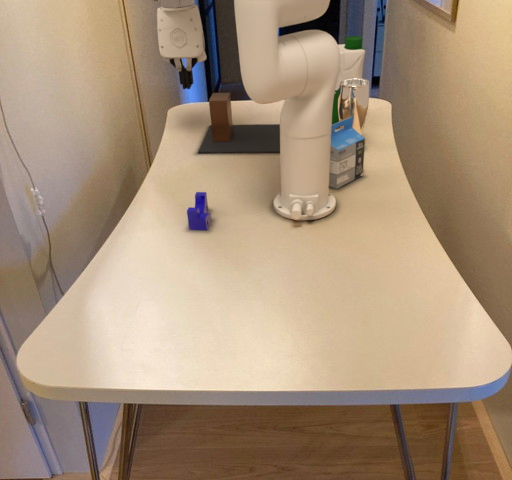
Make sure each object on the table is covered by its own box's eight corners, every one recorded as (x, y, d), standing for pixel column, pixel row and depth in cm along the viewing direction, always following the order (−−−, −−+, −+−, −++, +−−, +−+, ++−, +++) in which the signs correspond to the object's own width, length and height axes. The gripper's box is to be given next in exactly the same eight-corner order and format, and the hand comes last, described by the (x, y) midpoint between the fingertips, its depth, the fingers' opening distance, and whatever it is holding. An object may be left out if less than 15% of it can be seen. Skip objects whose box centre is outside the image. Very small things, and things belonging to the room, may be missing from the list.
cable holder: (207, 230, 106) (204, 211, 103) (189, 229, 107) (186, 211, 104) (215, 210, 112) (213, 192, 109) (198, 210, 112) (196, 191, 110)
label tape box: (336, 189, 116) (339, 131, 108) (322, 184, 119) (324, 127, 111) (363, 176, 121) (368, 119, 113) (349, 171, 123) (352, 115, 115)
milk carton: (362, 126, 143) (369, 41, 130) (328, 130, 142) (332, 45, 129) (351, 115, 150) (357, 33, 136) (319, 118, 149) (322, 36, 136)
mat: (287, 153, 132) (287, 151, 132) (198, 153, 135) (197, 151, 134) (291, 125, 146) (291, 124, 145) (210, 126, 148) (209, 125, 148)
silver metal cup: (333, 152, 131) (337, 86, 121) (337, 141, 136) (340, 77, 126) (363, 154, 130) (368, 87, 120) (365, 142, 135) (371, 77, 125)
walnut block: (230, 141, 138) (226, 100, 132) (212, 142, 139) (208, 100, 132) (233, 132, 143) (230, 92, 136) (216, 133, 143) (212, 92, 136)
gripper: (139, 4, 119) (153, 92, 131) (207, 2, 118) (215, 92, 130) (148, -3, 125) (160, 83, 137) (212, -5, 123) (220, 82, 135)
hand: (187, 87), depth 133 cm, fingers closed
